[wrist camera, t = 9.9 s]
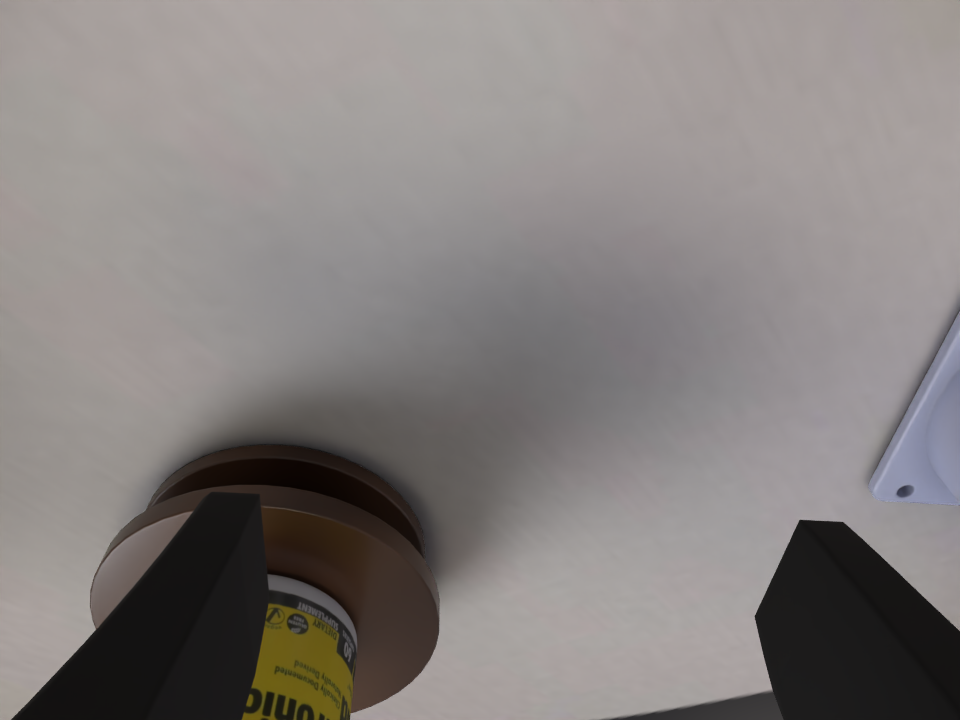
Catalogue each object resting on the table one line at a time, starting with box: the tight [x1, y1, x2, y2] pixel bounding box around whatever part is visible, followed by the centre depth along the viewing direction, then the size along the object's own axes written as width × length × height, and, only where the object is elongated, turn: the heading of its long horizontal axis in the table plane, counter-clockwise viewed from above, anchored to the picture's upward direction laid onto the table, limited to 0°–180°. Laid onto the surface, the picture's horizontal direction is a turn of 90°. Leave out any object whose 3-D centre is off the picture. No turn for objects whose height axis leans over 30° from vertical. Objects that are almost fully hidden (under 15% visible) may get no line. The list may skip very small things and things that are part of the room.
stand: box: [90, 445, 440, 713], centre depth 23 cm, size 10×10×3 cm
